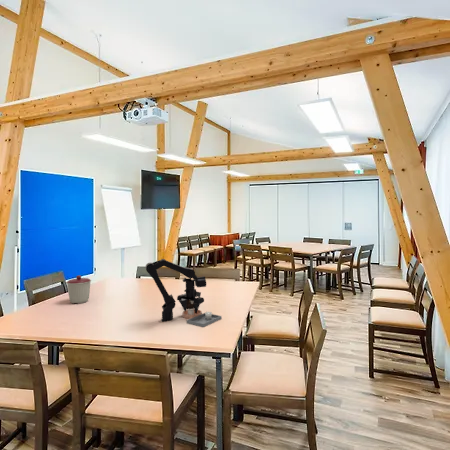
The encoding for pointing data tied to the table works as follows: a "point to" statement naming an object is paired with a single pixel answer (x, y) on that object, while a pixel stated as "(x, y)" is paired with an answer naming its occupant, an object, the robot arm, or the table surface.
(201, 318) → the parts tray
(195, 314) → the terracotta dish
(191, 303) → the coffee mug
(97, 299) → the table surface
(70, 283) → the canister
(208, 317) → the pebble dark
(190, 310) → the pebble light
